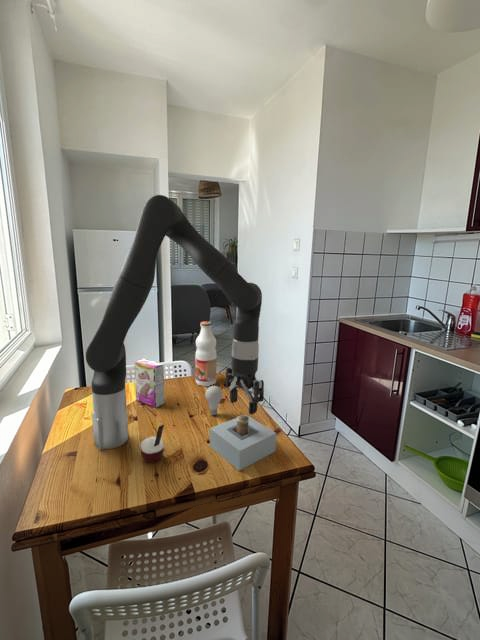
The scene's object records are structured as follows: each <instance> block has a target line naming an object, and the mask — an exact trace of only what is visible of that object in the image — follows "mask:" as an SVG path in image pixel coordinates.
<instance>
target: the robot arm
mask: <svg viewBox="0 0 480 640" xmlns="http://www.w3.org/2000/svg"><path fill="white" fill-rule="evenodd" d="M166 237H167V238H168V239H170V240H172V241H173V242H175V243H176V244H177V245H178V246H180V247H181V248H182V249H183V250H184V251H185V252H186V253H187V254H188V255H189V256H190V258H191V259H192V260H193V262H194V263H195V264H196V265H197V267H199V269H200V270H201V271H202V272H203V273H204V274H205V275H206V276H207V277H208V278H209V279H210V280H211V281H212V282H213V283H214V284H215V285H217V286H218V287H219V288H220V290H221V291H222V293H223V294H224V295H225V297H226V298H227V299H228V301H229V302H231V304H232V305H233V306H234V307H236V308H237V310H236V317H235V320H234V322H233V329H232V331H233V334H232V336H233V337H232V344H231V362H230V363H231V364H230V365H231V366H230V367H227V368H226V371H225V386H226V388H228V390H229V402H230V403H232V404H234V403H237V402H238V393H239V391H238V390H239V389H241V390H242V391H244V394H245V395H246V396H247V397H248V400H249V403H248V404H249V406H248V414H250V415H254V414H256V413H257V412H258V403H260V402H263V401H264V400H265V398H264V396H265V395H264V393H265V392H264V391H265V385H264V384H265V382H264V380H263V379H261V380H258V379H256V378H257V377H256V374H257V372H258V369H259V350H260V349H259V348H260V346H259V336H260V335H259V332H260V329H259V328H260V323H259V322H260V317H261V316H260V315H261V309H262V301H263V294H262V290H261V288H260V286H259V285H258V284H256V283H254V282H248V280H246V279H245V278H243V276H242V275H241V274H240V273H239V270H238V269H237V268H236V266H235V265H234V264H233V263H232V262H231V261H230V259H228V258H227V257H226V256H225V255H224V254H223V253H222V252H221V251H219V250H218V249H217V248H216V247H215V246H213V245H212V244H211V242H209V241H208V240H206V239H205V237H204V236H203V235H202V234H200V233H199V231H197V230H196V228H195V227H194V226H193V225H192V223H191V222H190V221H189V219H188V218H187V217H186V215H185V214H184V213H183V211H182V210H181V208H180V206H178V204H177V203H176V202H174V201H173V200H172V199H170V198H169V197H167V196H166V195H162V194H156V195H154V196H151V197H150V198H148V200H147V201H146V202H145V204H144V206H143V207H142V210H141V214H140V217H139V219H138V224H137V227H136V231H135V235H134V237H133V241H132V243H131V245H130V248H129V251H128V253H127V255H126V257H125V260H124V262H123V265H122V268H121V270H120V272H119V273H118V276H117V278H116V281H115V282H114V285H113V288H112V291H111V294H110V298H109V300H108V302H107V306H106V308H105V312H104V315H103V317H102V320H101V322H100V324H99V326H98V328H97V331H96V332H95V334H94V336H93V338H92V340H91V341H90V342H89V345H88V347H87V348H86V351H85V361H86V363H87V366H88V367H89V368H90V369H91V370H93V371H94V372H93V376H92V377H93V378H92V379H91V393H92V394H91V395H92V406H93V412H92V413H91V419H92V431H93V434H92V435H93V442H94V443H95V445H96V446H97V448H98V450H100V451H102V450H107V449H108V450H110V449H114V448H118V447H121V446H122V445H124V444H126V442H127V441H128V439H129V429H128V413H127V412H128V410H127V391H126V378H127V353H126V352H127V350H126V345H125V339H126V336H127V334H128V332H129V331H130V330H129V329H130V328H131V326H132V325H133V323H134V322H135V320H136V318H138V315H139V314H140V313H141V310H142V309H143V306H144V305H145V303H146V301H147V299H148V297H149V295H150V292H151V290H152V287H153V286H154V282H155V277H156V268H157V258H158V254H159V251H160V248H161V245H162V243H163V241H164V240H165V238H166Z"/></svg>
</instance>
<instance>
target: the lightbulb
mask: <svg viewBox="0 0 480 640" xmlns="http://www.w3.org/2000/svg"><path fill="white" fill-rule="evenodd" d="M204 395H205V399H206V401H207V402H208V407H209V410H210V411H209V413H210V415H212V416H216V415H217V414H218V409H219V404H220V401H221V400H222V398H223V391H222V389H221V388H220V387H219V386H217V385H212V386H208V388H207V389H206V391H205V394H204Z"/></svg>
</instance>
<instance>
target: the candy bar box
mask: <svg viewBox="0 0 480 640" xmlns="http://www.w3.org/2000/svg"><path fill="white" fill-rule="evenodd" d="M164 370H165V369H164V364H163V363H160V362H156V361H153V360H149V359H147V358H141V359H138V360H135V361H134V376H135V396H136V397H135V398H136V401H138V402H139V403H143V404H145V405H148V406H150V407H152V408H154V409H155V408H156V409H157V408H159V407H161V406H163V405H164V404H165V376H164V374H165V371H164Z"/></svg>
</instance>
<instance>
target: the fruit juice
mask: <svg viewBox="0 0 480 640" xmlns="http://www.w3.org/2000/svg"><path fill="white" fill-rule="evenodd" d="M212 326H213V325H212V322H211V321H207V320H206V321H201V322H200V332H199V334H198V336H197V337H196V339H195V347H196V349H195V350H196V351H195V353H194V354H195V355H194V358H195V360H194V361H195V384H196V383H197V384H198V385H197V384H196V385H197V386H199V385H202V386H201V387H211V386H210V385H212V386H214V385H216V383H217V370H218V369H217V363H218V362H217V360H218V359H217V357H218V356H217V350H216V347H217V339H216V337H215V335H214V334H213V332H212ZM213 384H214V385H213Z"/></svg>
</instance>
